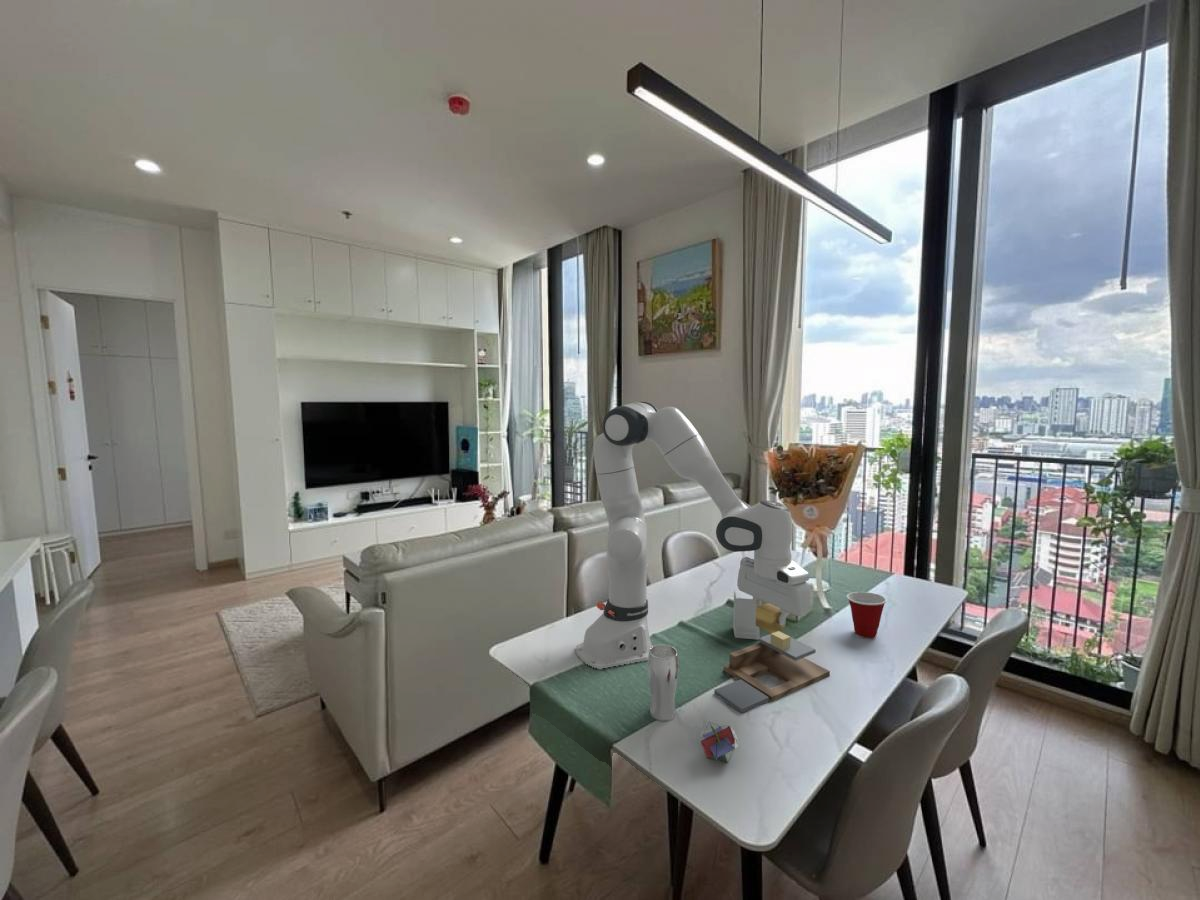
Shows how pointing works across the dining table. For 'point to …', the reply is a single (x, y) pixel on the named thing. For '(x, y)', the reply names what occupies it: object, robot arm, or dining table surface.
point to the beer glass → (663, 681)
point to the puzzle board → (773, 670)
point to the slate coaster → (741, 696)
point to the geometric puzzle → (719, 742)
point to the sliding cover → (787, 645)
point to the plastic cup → (866, 612)
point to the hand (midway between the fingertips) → (770, 619)
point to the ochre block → (768, 618)
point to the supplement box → (744, 616)
